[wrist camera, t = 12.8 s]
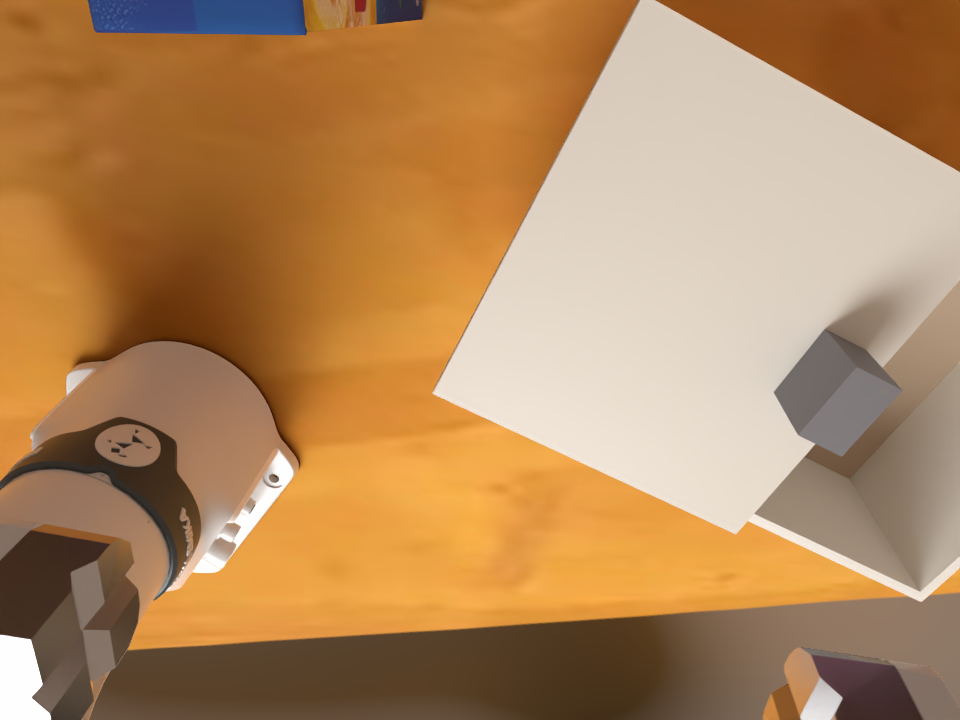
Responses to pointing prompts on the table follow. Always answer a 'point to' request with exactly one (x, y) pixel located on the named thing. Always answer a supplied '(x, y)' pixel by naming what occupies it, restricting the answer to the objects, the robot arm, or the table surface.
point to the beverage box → (246, 15)
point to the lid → (708, 276)
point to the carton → (889, 474)
